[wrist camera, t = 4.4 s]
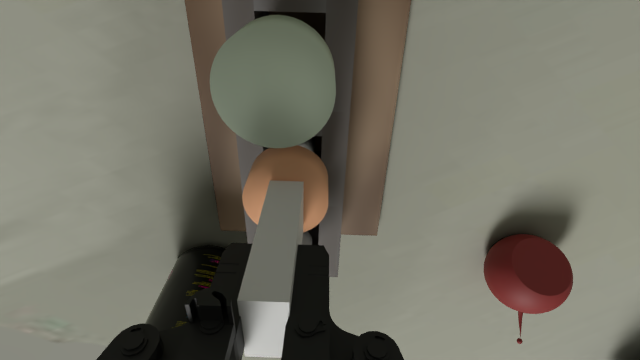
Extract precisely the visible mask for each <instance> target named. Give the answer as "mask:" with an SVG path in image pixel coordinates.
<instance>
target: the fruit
mask: <svg viewBox="0 0 640 360" xmlns="http://www.w3.org/2000/svg"><path fill="white" fill-rule="evenodd" d="M484 276H485V280H486V282H487V285H488V287H489V289H490V290H491V292H492V293H493V294H494V296H495V297H496V298H497V299H498V300H499V301H501V302H502V303H503V304H505V305H506V306H508V307H510V308H512V309H514V310H516V311H518V318H519V327H520V337H521V324H522V315H523V313H530V314H539V313H544V312H548V311H551V310H553V309H555V308H557V307H558V306H560V305H561V304H562V303H563V302H564V301H565V300H566V299H567V297H568V296H569V294H570V292H571V289H572V285H573V273H572V269H571V266H570V263H569V261H568V259H567V258H566V256H565V255H564V254H563V252H562V251H561V250H560V249H559V248H558V247H556V246H555V245H554V244H552V243H551V242H549V241H548V240H546V239H543V238H541V237H538V236H534V235H529V234H517V235H511V236H508V237H505V238H503V239H501V240H499V241H498V242H497V243H495V244H494V245H493V246H492V248H491V249H490V250H489V252H488V254H487V256H486V258H485V262H484ZM517 342H518V343H519V344H521V343H522V339H520V338H518V339H517Z"/></svg>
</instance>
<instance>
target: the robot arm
mask: <svg viewBox="0 0 640 360" xmlns="http://www.w3.org/2000/svg"><path fill="white" fill-rule="evenodd" d="M303 200H304V182H301V181H273V180H270V182H269V185H268V189H267V193H266V196H265V200H264V204H263V207H262V211H261V215H260V218H259V222H258V226H257V229H256V233H255V237H254V240H253V244H248V243H231V244H230V245H229V246H228V247H227V248H226V249H225V250H224V252H223V253H222V256H221V259H220V261H219V265H218V267H217V270H216V274H215V275H214V278H213V281H212V283H211V286H210V288H205V289H203V290H200V291H198V292H196V293H195V294H193V295H192V296H191V297H190V298H189V299H188V300H187V302H186V303H185V308H186V312H187V316H188V319H189V322H188V323H186V324H184V325H181V326H178V327H175V328H171V329H167V330H163V331H159V332H158V330H157V328H156V327H154V326H152V325H151V324H138V325H133V326H131V327H129V328H127V329H125V330H123V331H122V332H121V333H120V334H119V335H118V336H116V337H115V338H114V340H113V341H112V342H111V343H110V344H109V345H108V347H107V348H106V349H105V350H104V351H103V353H102V354H101V355H100V356H99V357H98V358H97V360H241V359H242V355H243V350H244V352H245V356H248V357H274V358H281V360H404V359H403V357H402V354H401V352H400V350H399V347H398V346H397V344H396V343H395V341H394V340H393V339H392V338H390V337H389V336H388V335H386V334H384V333H381V332H378V331H369V332H366V333H363V334H361V335H360V336H356V335H353V334H351V333H348V332H346V331H344V330H342V329H340V328H339V327H338V326H336V324H335V323H334V322H333V321H332V319H331V316H330V312H329V254H328V252H327V250H326V249H325V247H324V245H302V239H303Z"/></svg>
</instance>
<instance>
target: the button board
mask: <svg viewBox="0 0 640 360" xmlns="http://www.w3.org/2000/svg"><path fill="white" fill-rule="evenodd" d="M410 4H411V0H185V5H186V12H187V18H188V25H189V31H190V37H191V44H192V50H193V57H194V63H195V69H196V76H197V82H198V89H199V95H200V101H201V108H202V114H203V121H204V127H205V133H206V140H207V146H208V153H209V159H210V165H211V172H212V178H213V185H214V191H215V197H216V204H217V210H218V217H219V223H220V229H221V230H222V231H246V233H247V242H248V244H253V240H254V237H255V233H256V229H257V226H258V225H257V224H256V223H255V222H253V221H252V219H251V218H250V217H249V216H248V214H247V213H246V211H245V208H244V206H243V201H242V195H243V189H244V186H245V184H246V181H247V178H248V175H249V173H250V170H251V167H252V165H253V163H254V161H255V159H256V158H257V157H258V156H259V155H260V154H261V153H262V152H263V151H265V150H266V149H268V148H267V147H263V146H259V145H256V144H253V143H251V142H249V141H246V140H245V139H243V138H241V137H240V136H238V135H237V134H236V133H235V132H233V131H232V130H231V129H230V128H229V127H228V126H227V125H226V124H225V122H224V121H223V120H222V118H221V117H220V115H219V114H218V112H217V110H216V108H215V106H214V103H213V100H212V96H211V91H210V72H211V67H212V64H213V61H214V58H215V56H216V54H217V52H218V50H219V49H220V48H221V46H222V45H223V44H224V43H225V42H226V41H227V40H228V39H229V38H230V37H231V36H232V35H234V34H235V33H236V32H237V31H239V30H240V29H241V28H242V27H244V26H245V25H246V24H248V23H249V22H251V21H253V20H255V19H257V18H260V17H263V16H269V15H285V16H290V17H294V18H296V19H299V20H301V21H303V22H305V23H306V24H308V25H309V26H311V27H312V28H313V29H315V30H316V31H317V32H318V33H319V34H320V36H321V37H322V38H323V39H324V41H325V42H326V44H327V46H328V47H329V50H330V52H331V54H332V58H333V61H334V68H335V81H336V97H335V104H334V108H333V111H332V113H331V116H330V118H329V119H328V121H327V123H326V124H325V125H324V127H323V128H322V129H321V130H320V131H319V132H318V133H317V134H316V135H315V136H314V137H315V154H316V155H317V156H318V157H319V158H320V159H321V160H322V162H323V163H324V165H325V167H326V169H327V173H328V209H327V212H326V214H325V216H324V218H323V219H322V221H321V222H320V223H319V224H318V225H316V226H315V227H314V228H312V229H310V230H308V232H309V234H310V235H311V237H312V245H324V247H325V249H326V250H327V252H328V254H329V277H338V265H339V252H340V238H341V234H345V235H376V236H377V231H378V224H379V218H380V211H381V204H382V197H383V190H384V183H385V176H386V169H387V163H388V156H389V149H390V142H391V135H392V128H393V121H394V114H395V107H396V101H397V94H398V87H399V80H400V73H401V66H402V59H403V52H404V46H405V39H406V32H407V25H408V18H409V11H410Z"/></svg>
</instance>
